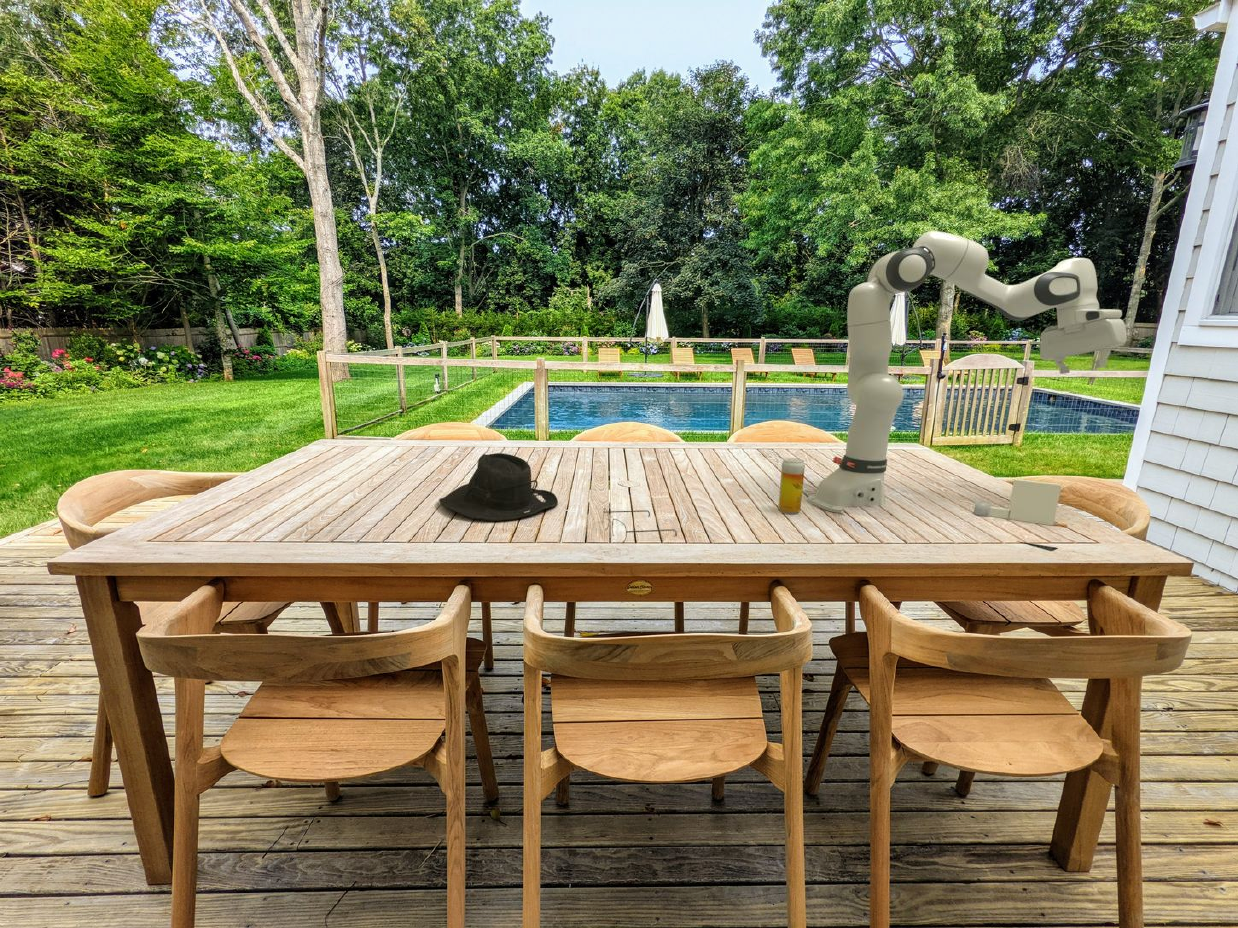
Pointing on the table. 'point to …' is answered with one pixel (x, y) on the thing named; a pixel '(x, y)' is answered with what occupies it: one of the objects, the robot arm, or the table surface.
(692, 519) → the table surface
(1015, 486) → the peg
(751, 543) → the table surface
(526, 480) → the hat
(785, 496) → the beer glass
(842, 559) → the table surface
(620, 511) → the eyeglasses
